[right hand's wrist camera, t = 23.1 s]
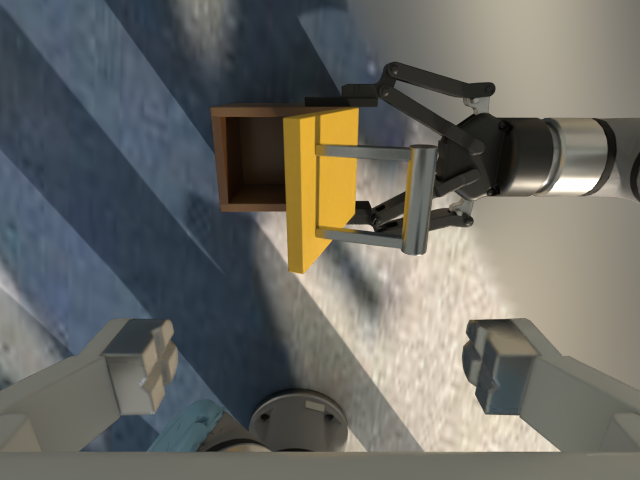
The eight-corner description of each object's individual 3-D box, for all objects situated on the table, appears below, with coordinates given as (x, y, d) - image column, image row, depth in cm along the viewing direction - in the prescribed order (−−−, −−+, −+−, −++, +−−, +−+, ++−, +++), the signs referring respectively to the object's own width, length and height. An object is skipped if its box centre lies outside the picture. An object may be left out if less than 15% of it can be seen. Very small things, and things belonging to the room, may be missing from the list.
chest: (238, 188, 45) (220, 211, 36) (231, 103, 41) (209, 106, 33) (343, 188, 45) (349, 211, 36) (345, 103, 41) (352, 106, 33)
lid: (288, 272, 24) (419, 293, 22) (282, 117, 21) (438, 121, 18) (344, 212, 36) (434, 222, 34) (346, 107, 32) (448, 108, 30)
